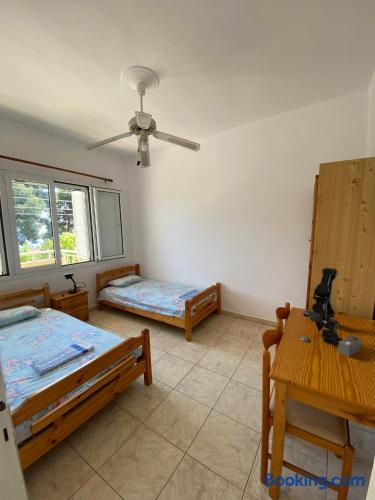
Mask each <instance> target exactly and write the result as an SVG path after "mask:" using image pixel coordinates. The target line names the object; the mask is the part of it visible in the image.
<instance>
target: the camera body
mask: <svg viewBox="0 0 375 500" xmlns="http://www.w3.org/2000/svg"><path fill="white" fill-rule="evenodd" d="M337 346H338V347H337V352H338V353H340V354H341V355H343V356H345V357H348V358H349V357H351V356H352V355H354V354H355V353H357V352H358V351H361V349H362V348H361V347H362V339H361V338H359V337H356V336H354V335H349V336H347V337H344V338H343V339H341V340H339V342H338V345H337Z"/></svg>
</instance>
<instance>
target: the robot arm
mask: <svg viewBox="0 0 375 500" xmlns="http://www.w3.org/2000/svg"><path fill="white" fill-rule="evenodd" d="M338 272H339V270H337V269H336V268H334V267H324V268H322V269H321V274H322V277H321V279H320V283H318V284H317V285H316V288H314V290H313V296H312V300H315V302H314V303H313V304H312V306H311V309H312V310H310V309H307V310H305V311H303V312H302V316H303V317H305V318H309V321H311V322H312V323H313V322H314V323H315V326H316V328H317V331H318V332H319V333H320V332H321V331H323V329H324V325H325V326H329V327H332V328H338V327H339V326H340V321H338V320H336V319H335V317H336V314H335V313H336V311H335V310H334V306H333V304H332V293H333V284H334V283H333V282H334V281H335V280H336V279H337V276H338V274H339V273H338ZM333 318H334V319H333Z"/></svg>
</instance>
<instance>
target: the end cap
mask: <svg viewBox="0 0 375 500" xmlns="http://www.w3.org/2000/svg"><path fill="white" fill-rule="evenodd" d="M321 336H322V340H323V342H326V343H329V344H337V343H339V341H340V336H339V332H338V330H337V327H335V328H332V327H330V326H325V325H324V326H323V328H322V335H321Z"/></svg>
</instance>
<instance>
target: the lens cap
mask: <svg viewBox="0 0 375 500" xmlns="http://www.w3.org/2000/svg"><path fill="white" fill-rule="evenodd" d="M299 339H300V340H301V341H302V342H304V343H309V342H311V339H310V338H309V337H308V336H305V335H304V336H303V335H301V336H300V337H299Z"/></svg>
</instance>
